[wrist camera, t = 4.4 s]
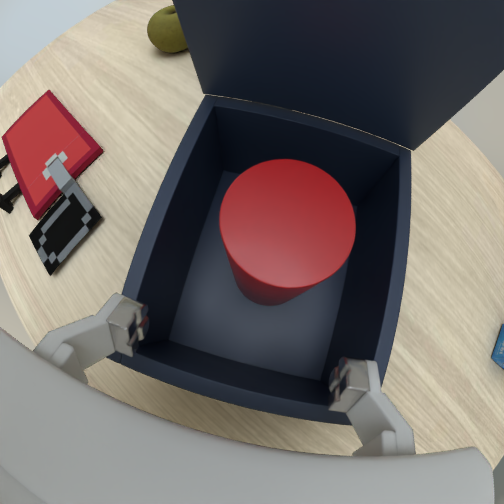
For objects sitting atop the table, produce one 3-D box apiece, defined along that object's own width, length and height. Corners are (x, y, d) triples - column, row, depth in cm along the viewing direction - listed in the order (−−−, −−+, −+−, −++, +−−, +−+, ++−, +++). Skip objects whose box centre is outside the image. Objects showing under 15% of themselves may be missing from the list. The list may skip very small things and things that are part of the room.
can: (259, 320, 22) (270, 317, 11) (220, 259, 24) (193, 199, 12) (318, 279, 23) (380, 238, 12) (279, 222, 25) (302, 139, 13)
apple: (213, 45, 32) (209, 7, 26) (164, 66, 31) (153, 28, 24) (191, 29, 34) (186, -4, 27) (147, 48, 33) (136, 14, 26)
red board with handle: (45, 290, 24) (138, 188, 27) (29, 285, 21) (128, 175, 24) (-8, 157, 29) (52, 94, 32) (-17, 149, 26) (45, 84, 29)
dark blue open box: (324, 390, 22) (368, 427, 12) (158, 345, 23) (104, 357, 13) (363, 204, 26) (411, 150, 16) (218, 165, 27) (205, 94, 17)
